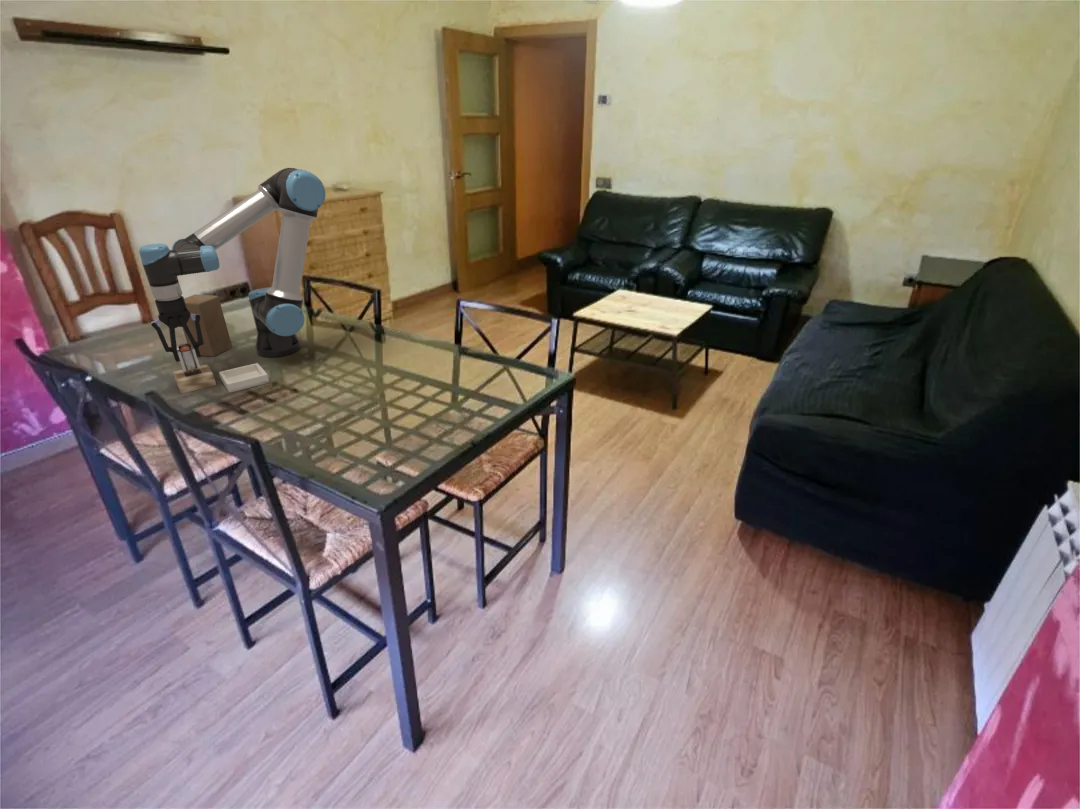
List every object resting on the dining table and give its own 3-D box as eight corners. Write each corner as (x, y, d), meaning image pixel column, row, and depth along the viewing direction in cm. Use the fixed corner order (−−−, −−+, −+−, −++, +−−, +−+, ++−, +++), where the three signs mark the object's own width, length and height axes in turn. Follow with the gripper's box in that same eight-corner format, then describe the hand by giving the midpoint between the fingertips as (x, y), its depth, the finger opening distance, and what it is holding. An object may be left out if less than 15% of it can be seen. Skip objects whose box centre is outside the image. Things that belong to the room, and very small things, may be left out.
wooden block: (214, 357, 203) (198, 303, 194) (190, 355, 205) (173, 302, 196) (233, 347, 212) (218, 295, 202) (209, 345, 213) (194, 293, 204)
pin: (199, 376, 185) (189, 342, 179) (201, 380, 182) (190, 345, 177) (188, 379, 183) (177, 345, 177) (190, 382, 181) (178, 348, 175)
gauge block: (210, 374, 189) (206, 364, 188) (216, 385, 182) (213, 373, 181) (176, 382, 184) (172, 371, 182) (181, 393, 177) (177, 382, 175)
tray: (259, 371, 192) (257, 362, 191) (269, 382, 184) (267, 374, 182) (221, 380, 186) (218, 372, 184) (229, 393, 177) (227, 384, 176)
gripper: (196, 289, 177) (216, 358, 188) (135, 299, 168) (160, 371, 179) (201, 295, 172) (221, 365, 183) (138, 305, 163) (163, 379, 174)
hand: (191, 368), depth 181 cm, fingers closed on pin, 3 cm apart
